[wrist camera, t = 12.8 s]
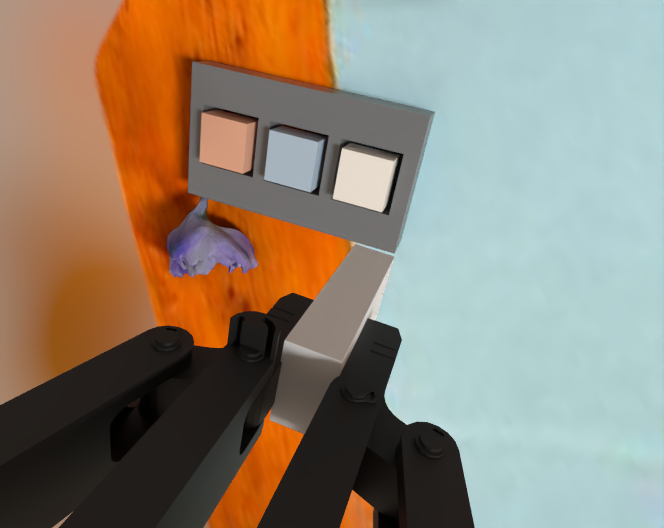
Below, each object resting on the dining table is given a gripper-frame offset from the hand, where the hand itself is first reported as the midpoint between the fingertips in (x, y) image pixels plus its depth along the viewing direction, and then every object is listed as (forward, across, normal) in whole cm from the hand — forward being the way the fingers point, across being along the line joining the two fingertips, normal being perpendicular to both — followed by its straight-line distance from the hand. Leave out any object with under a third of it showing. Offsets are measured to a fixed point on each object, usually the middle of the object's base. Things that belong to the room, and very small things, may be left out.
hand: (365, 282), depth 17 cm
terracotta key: (+25, -18, -3) cm, 31 cm away
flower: (+26, -20, -14) cm, 36 cm away
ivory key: (+25, -5, -3) cm, 25 cm away
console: (+26, -12, -3) cm, 29 cm away
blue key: (+25, -12, -3) cm, 27 cm away
